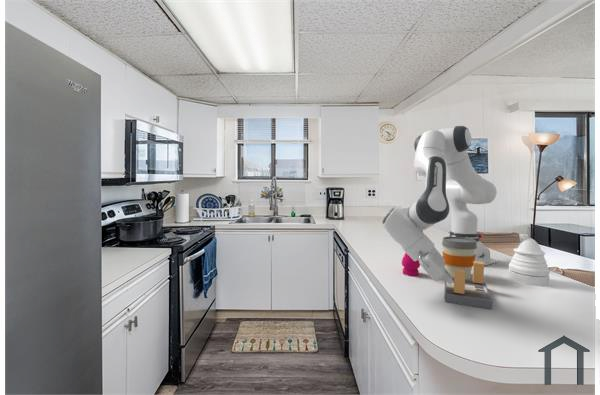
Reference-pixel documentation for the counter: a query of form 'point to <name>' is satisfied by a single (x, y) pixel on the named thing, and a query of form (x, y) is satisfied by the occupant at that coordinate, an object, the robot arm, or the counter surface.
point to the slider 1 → (459, 281)
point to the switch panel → (469, 294)
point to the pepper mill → (410, 266)
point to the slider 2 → (478, 272)
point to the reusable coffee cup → (459, 254)
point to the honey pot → (529, 264)
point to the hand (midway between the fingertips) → (451, 281)
